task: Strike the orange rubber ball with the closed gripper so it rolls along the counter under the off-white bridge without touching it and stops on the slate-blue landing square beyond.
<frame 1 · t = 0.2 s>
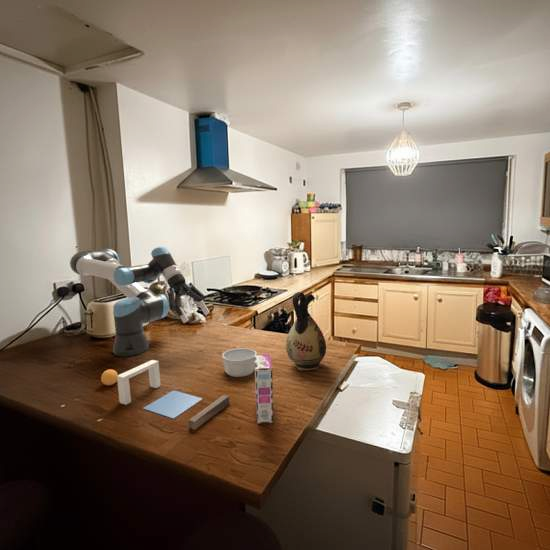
hand: (197, 317, 157), 15 cm above the countertop, tool tilted 35°, fingers open, 13 cm apart
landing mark: (173, 403, 113), on the countertop
ramekin: (240, 371, 137), on the countertop
ball: (109, 377, 128), on the countertop
stopper: (210, 415, 106), on the countertop
ceramic jug: (305, 367, 138), on the countertop
candy bar box: (264, 414, 106), on the countertop
bridge: (141, 393, 120), on the countertop
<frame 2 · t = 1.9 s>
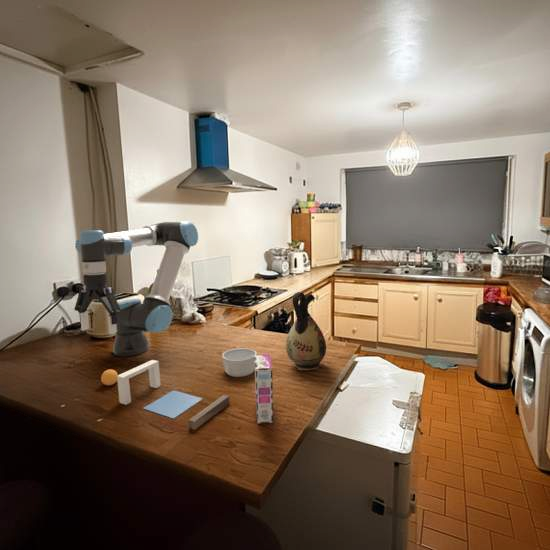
hand: (98, 331, 130), 19 cm above the countertop, tool pointing down, fingers open, 13 cm apart
nothing on the countertop moved.
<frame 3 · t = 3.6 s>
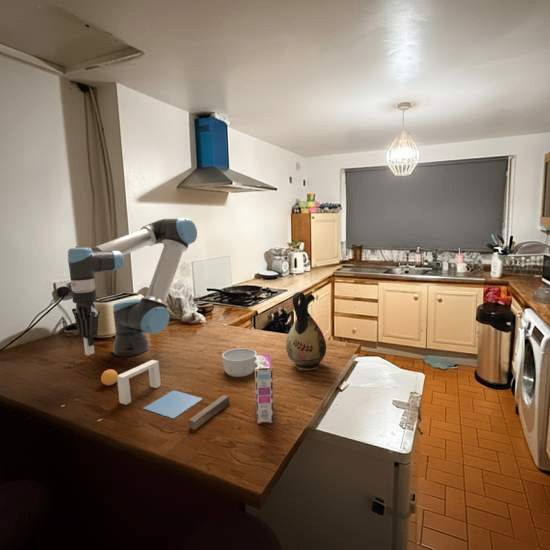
hand: (89, 353, 131), 10 cm above the countertop, tool pointing down, fingers closed
nothing on the countertop moved.
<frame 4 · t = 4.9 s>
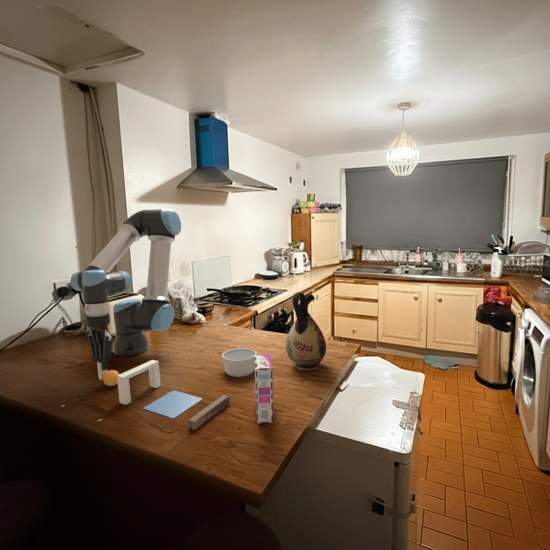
hand: (103, 377, 128), 2 cm above the countertop, tool pointing down, fingers closed
ball: (111, 378, 127), on the countertop, touching gripper
everything else where it was.
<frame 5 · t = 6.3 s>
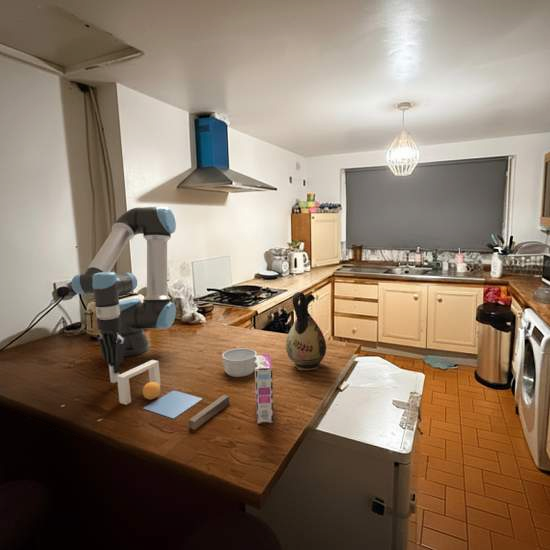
hand: (115, 381, 126), 2 cm above the countertop, tool pointing down, fingers closed
ball: (151, 390, 117), on the countertop
everything else where it was.
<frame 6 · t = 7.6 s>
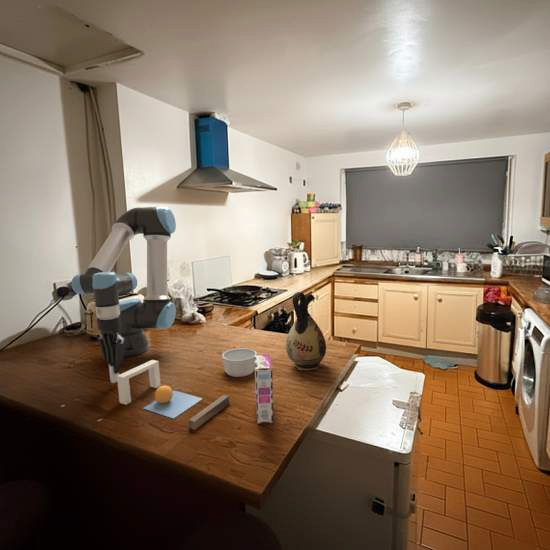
hand: (115, 381, 126), 2 cm above the countertop, tool pointing down, fingers closed
ball: (163, 394, 114), on the countertop
everything else where it was.
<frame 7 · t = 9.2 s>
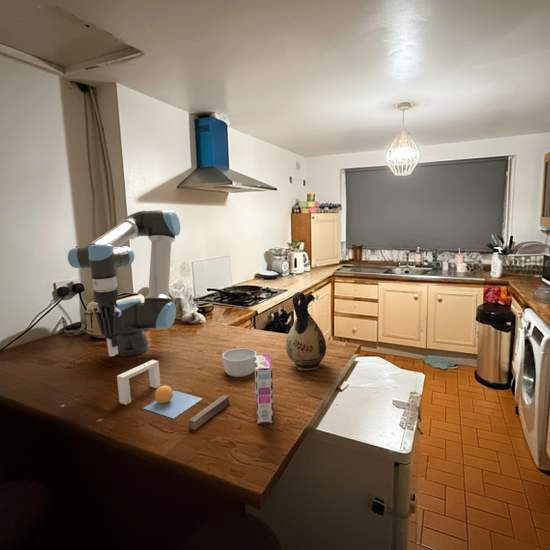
hand: (113, 354, 125), 12 cm above the countertop, tool pointing down, fingers closed
nothing on the countertop moved.
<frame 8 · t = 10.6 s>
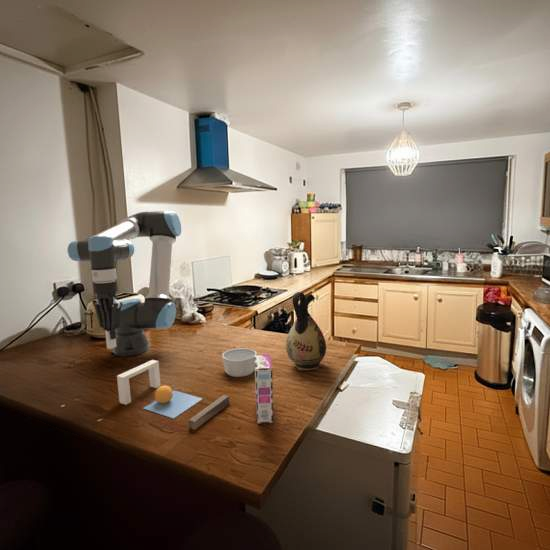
hand: (111, 347, 124), 14 cm above the countertop, tool pointing down, fingers closed
nothing on the countertop moved.
at the end: ball 3.3 cm from the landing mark (horizontally); ball never touched bridge; ball at rest at the end (0.0 cm/s) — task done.
